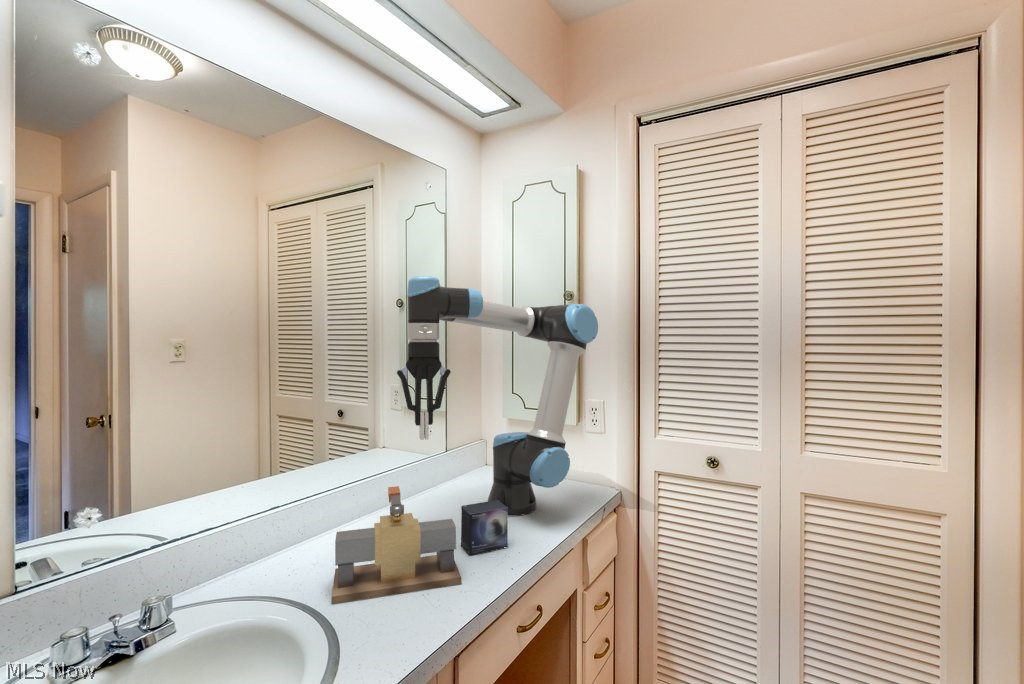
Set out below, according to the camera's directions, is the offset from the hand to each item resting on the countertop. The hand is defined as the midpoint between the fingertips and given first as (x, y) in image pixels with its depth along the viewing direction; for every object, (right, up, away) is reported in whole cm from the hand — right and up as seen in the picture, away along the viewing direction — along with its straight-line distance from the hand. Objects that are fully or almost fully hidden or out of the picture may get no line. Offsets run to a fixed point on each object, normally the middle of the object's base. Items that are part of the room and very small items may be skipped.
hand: (423, 438), depth 115 cm
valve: (-4, -27, -11) cm, 30 cm away
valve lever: (-5, -14, -6) cm, 16 cm away
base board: (-4, -29, -11) cm, 31 cm away
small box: (+14, -29, +5) cm, 32 cm away
